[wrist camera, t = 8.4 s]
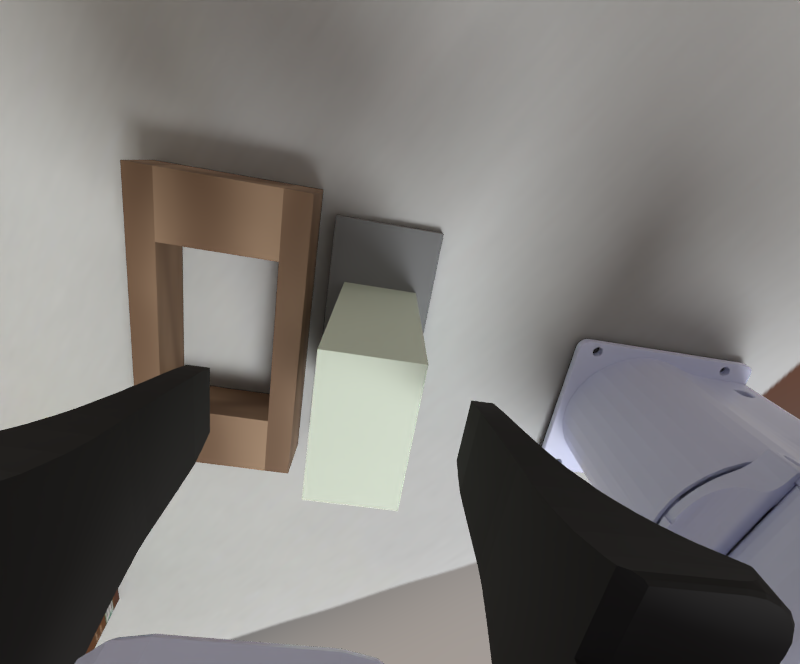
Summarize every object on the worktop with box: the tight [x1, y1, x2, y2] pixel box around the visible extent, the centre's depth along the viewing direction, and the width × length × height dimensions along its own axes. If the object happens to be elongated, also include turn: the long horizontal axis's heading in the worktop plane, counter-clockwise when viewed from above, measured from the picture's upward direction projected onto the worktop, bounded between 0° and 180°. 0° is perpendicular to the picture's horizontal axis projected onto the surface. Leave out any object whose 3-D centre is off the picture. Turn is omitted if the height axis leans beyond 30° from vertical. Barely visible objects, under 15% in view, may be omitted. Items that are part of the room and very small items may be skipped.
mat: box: [323, 215, 444, 334], centre depth 22 cm, size 5×12×1 cm, turn 170°
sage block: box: [302, 282, 428, 511], centre depth 18 cm, size 4×6×8 cm, turn 171°
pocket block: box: [120, 160, 323, 473], centre depth 21 cm, size 8×14×2 cm, turn 170°
